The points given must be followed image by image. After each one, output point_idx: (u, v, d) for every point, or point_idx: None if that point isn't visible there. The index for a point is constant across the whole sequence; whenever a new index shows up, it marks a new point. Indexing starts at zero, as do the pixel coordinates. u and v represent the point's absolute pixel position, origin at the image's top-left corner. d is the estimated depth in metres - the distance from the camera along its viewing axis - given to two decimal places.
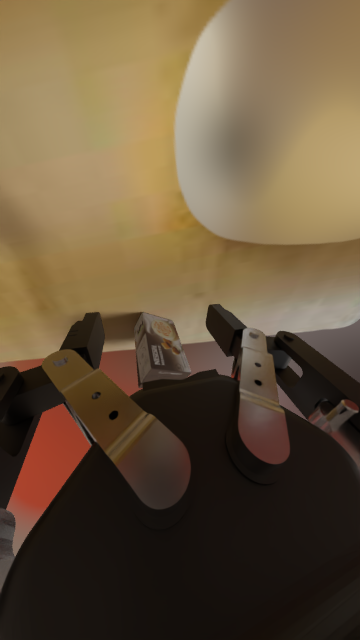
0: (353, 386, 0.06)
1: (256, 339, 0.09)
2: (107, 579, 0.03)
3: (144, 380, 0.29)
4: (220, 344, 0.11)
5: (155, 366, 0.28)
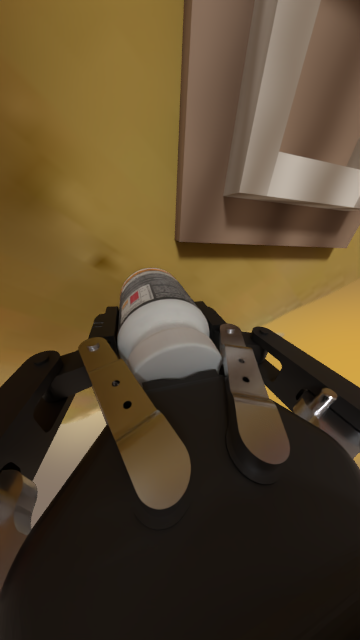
0: (326, 372, 0.07)
1: (231, 334, 0.09)
2: (99, 599, 0.03)
3: None
4: None
5: None
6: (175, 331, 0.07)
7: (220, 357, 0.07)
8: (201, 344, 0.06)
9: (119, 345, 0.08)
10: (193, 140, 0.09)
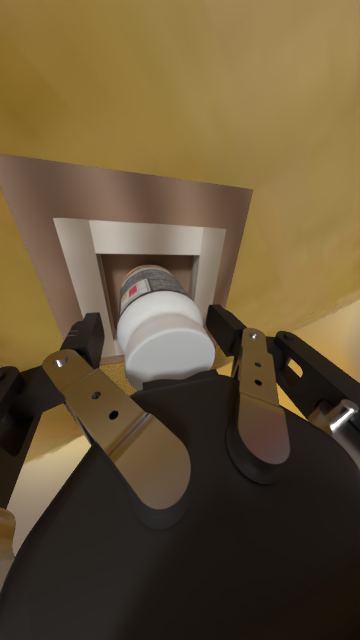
0: (353, 385, 0.06)
1: (256, 339, 0.09)
2: (107, 579, 0.03)
3: None
4: (220, 344, 0.11)
5: None
6: (169, 319, 0.07)
7: (211, 342, 0.08)
8: (192, 329, 0.07)
9: (119, 334, 0.09)
10: (66, 330, 0.16)
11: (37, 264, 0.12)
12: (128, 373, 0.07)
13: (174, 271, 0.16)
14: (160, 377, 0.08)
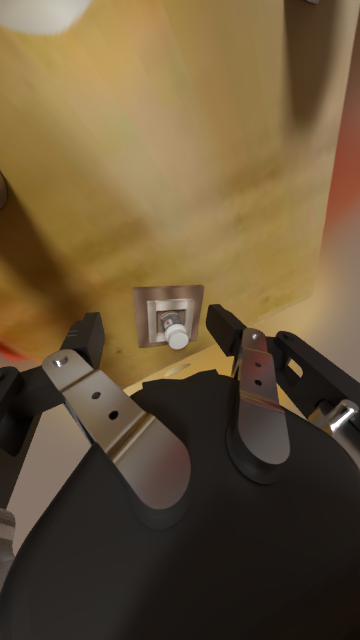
0: (353, 385, 0.06)
1: (256, 339, 0.09)
2: (107, 579, 0.03)
3: None
4: (220, 344, 0.11)
5: None
6: (178, 331, 0.36)
7: (187, 336, 0.36)
8: (183, 333, 0.35)
9: (165, 334, 0.37)
10: (139, 333, 0.44)
11: (136, 312, 0.41)
12: (169, 342, 0.36)
13: (178, 312, 0.44)
14: (176, 344, 0.36)
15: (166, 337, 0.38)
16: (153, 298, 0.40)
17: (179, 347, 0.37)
